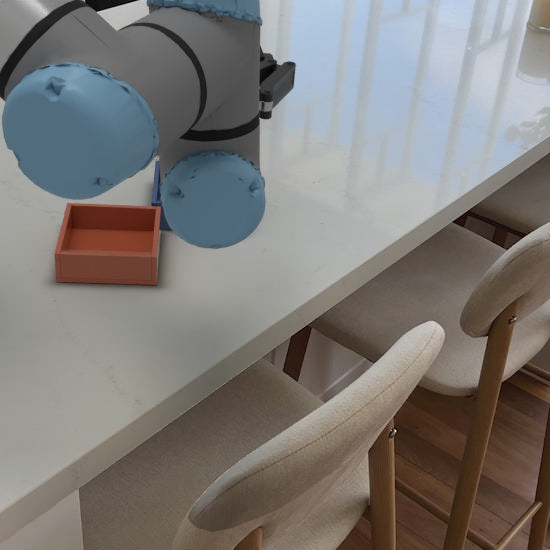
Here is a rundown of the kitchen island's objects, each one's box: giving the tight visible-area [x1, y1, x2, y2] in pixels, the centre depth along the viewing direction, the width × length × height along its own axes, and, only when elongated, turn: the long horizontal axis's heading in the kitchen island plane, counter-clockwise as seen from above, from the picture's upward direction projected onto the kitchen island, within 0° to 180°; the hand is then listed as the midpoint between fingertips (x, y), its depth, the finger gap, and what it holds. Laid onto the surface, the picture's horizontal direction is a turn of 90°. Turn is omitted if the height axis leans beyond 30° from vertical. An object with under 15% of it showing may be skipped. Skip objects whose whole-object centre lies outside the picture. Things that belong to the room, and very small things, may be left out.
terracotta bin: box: [53, 202, 162, 286], centre depth 103 cm, size 11×11×4 cm
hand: (188, 46), depth 93 cm, fingers open, 13 cm apart
